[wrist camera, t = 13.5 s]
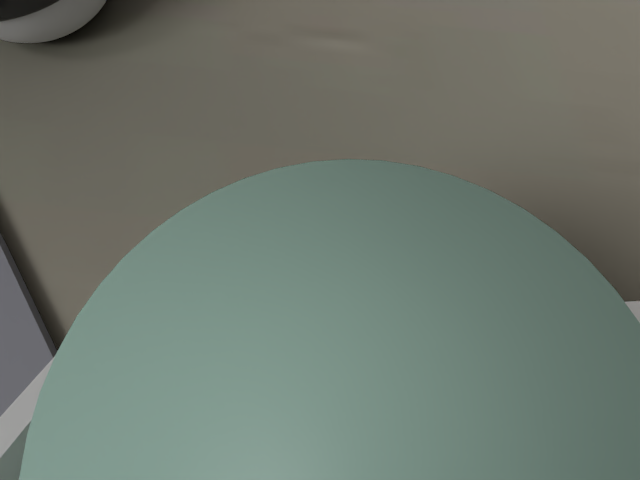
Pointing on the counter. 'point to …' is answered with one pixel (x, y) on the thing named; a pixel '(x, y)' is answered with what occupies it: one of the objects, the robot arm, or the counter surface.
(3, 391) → the mat
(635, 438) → the faceted lidded jar
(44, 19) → the black egg-shaped device
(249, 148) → the counter surface
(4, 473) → the robot arm
